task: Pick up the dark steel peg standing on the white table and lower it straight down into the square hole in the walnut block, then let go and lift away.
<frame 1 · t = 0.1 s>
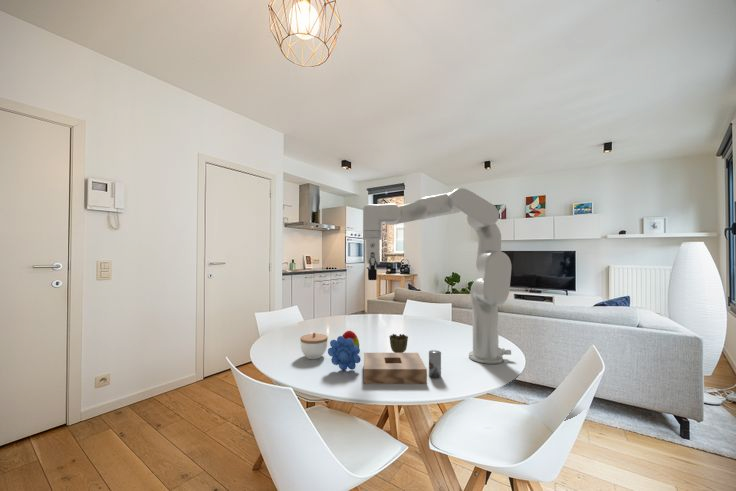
hand: (372, 279, 119), 31 cm above the table, fingers open, 9 cm apart
decorative egg: (349, 356, 121), on the table
cup: (398, 356, 121), on the table
walnut block: (392, 373, 103), on the table
grapes: (343, 371, 105), on the table
lidded jar: (313, 357, 120), on the table
steel peg: (434, 376, 101), on the table
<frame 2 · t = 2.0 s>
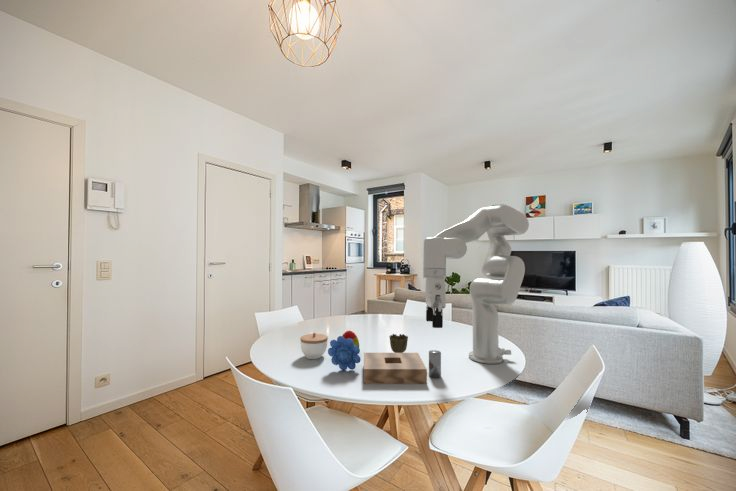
hand: (433, 324, 101), 17 cm above the table, fingers open, 9 cm apart
nothing on the table moved.
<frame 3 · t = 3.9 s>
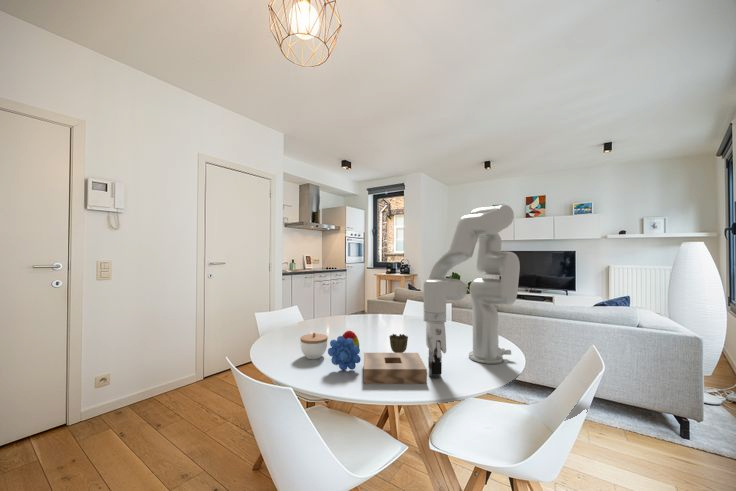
hand: (434, 370, 101), 2 cm above the table, fingers closed on steel peg, 4 cm apart
steel peg: (434, 375, 101), on the table, touching gripper
everything else where it was.
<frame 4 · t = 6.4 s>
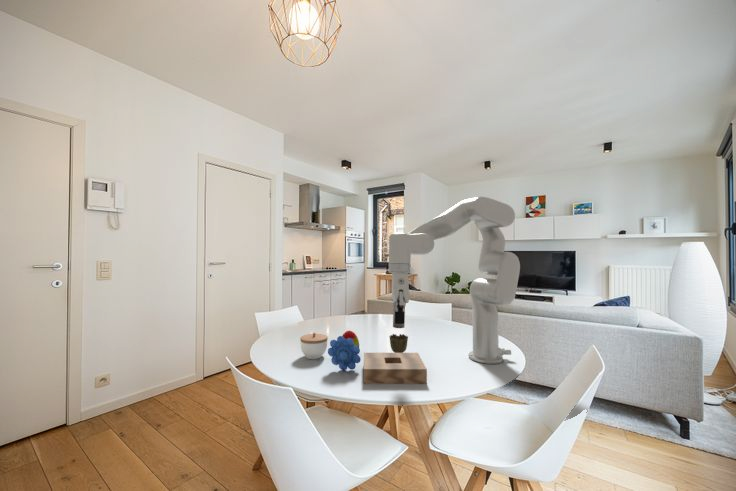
hand: (398, 321, 103), 18 cm above the table, fingers closed on steel peg, 4 cm apart
steel peg: (398, 326, 103), point 16 cm above the table, touching gripper
everything else where it was.
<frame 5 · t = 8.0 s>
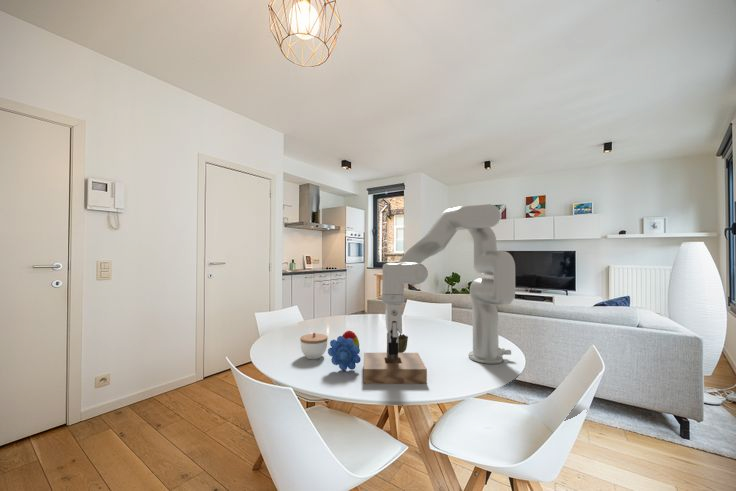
hand: (392, 351, 103), 7 cm above the table, fingers closed on steel peg, 4 cm apart
steel peg: (392, 356, 103), point 6 cm above the table, touching gripper
everything else where it was.
when the fingers open (5 cm above the table, at t = 9.1 s): steel peg drops 3 cm, resting in walnut block.
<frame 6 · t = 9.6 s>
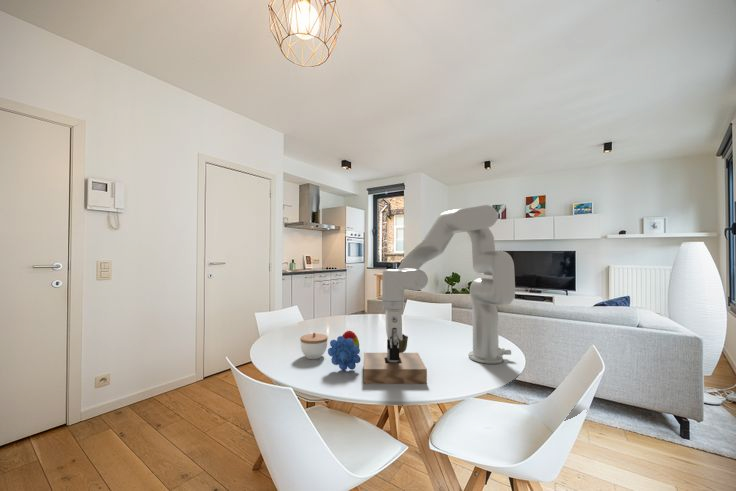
hand: (392, 355, 103), 6 cm above the table, fingers open, 9 cm apart
steel peg: (393, 373, 103), resting in walnut block
everything else where it was.
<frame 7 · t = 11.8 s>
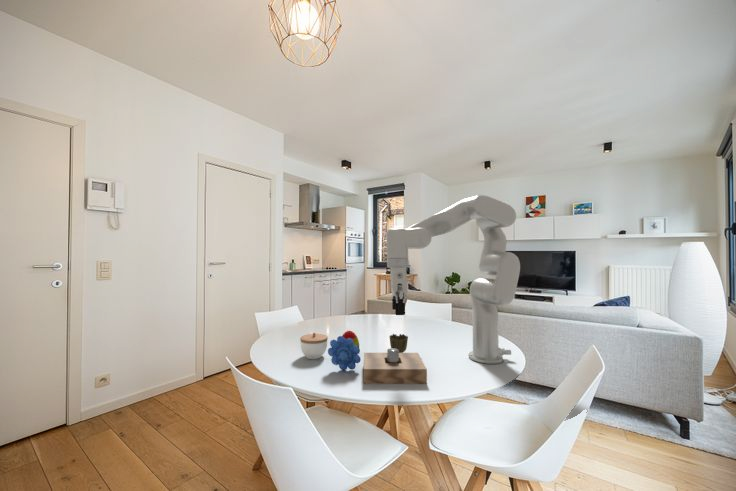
hand: (398, 312, 106), 21 cm above the table, fingers open, 9 cm apart
nothing on the table moved.
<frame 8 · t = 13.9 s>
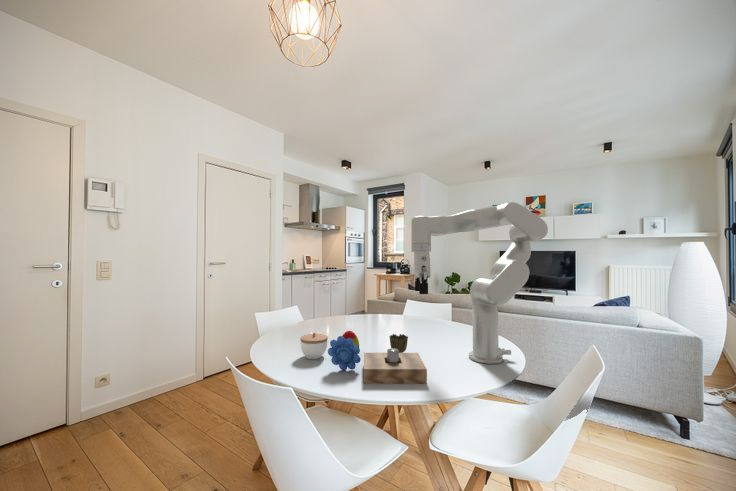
hand: (421, 292, 116), 26 cm above the table, fingers open, 9 cm apart
nothing on the table moved.
at the end: steel peg 0.0 cm off-centre on the walnut block, point 0.0 cm above the walnut block's base; steel peg tilted 0°; the gripper is holding nothing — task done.
